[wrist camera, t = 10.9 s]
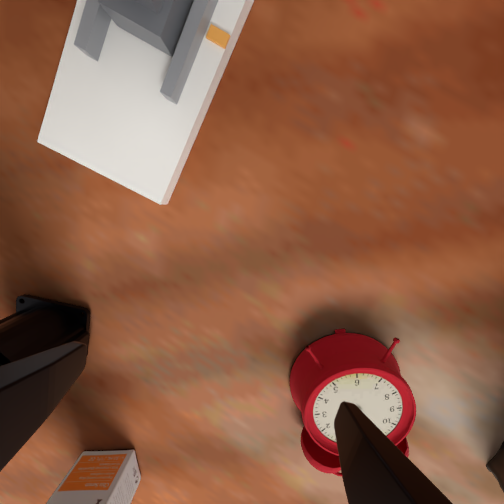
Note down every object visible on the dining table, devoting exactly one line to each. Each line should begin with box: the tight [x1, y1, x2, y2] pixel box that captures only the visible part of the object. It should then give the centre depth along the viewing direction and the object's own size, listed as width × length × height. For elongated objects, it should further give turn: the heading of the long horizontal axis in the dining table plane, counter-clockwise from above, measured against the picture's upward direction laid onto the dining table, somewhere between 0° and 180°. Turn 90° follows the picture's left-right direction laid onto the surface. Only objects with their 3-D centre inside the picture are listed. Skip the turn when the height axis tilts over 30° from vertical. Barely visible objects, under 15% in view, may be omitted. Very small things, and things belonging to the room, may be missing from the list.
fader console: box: [37, 0, 254, 205], centre depth 16 cm, size 22×10×3 cm, turn 153°
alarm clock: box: [290, 329, 416, 476], centre depth 21 cm, size 10×6×15 cm
